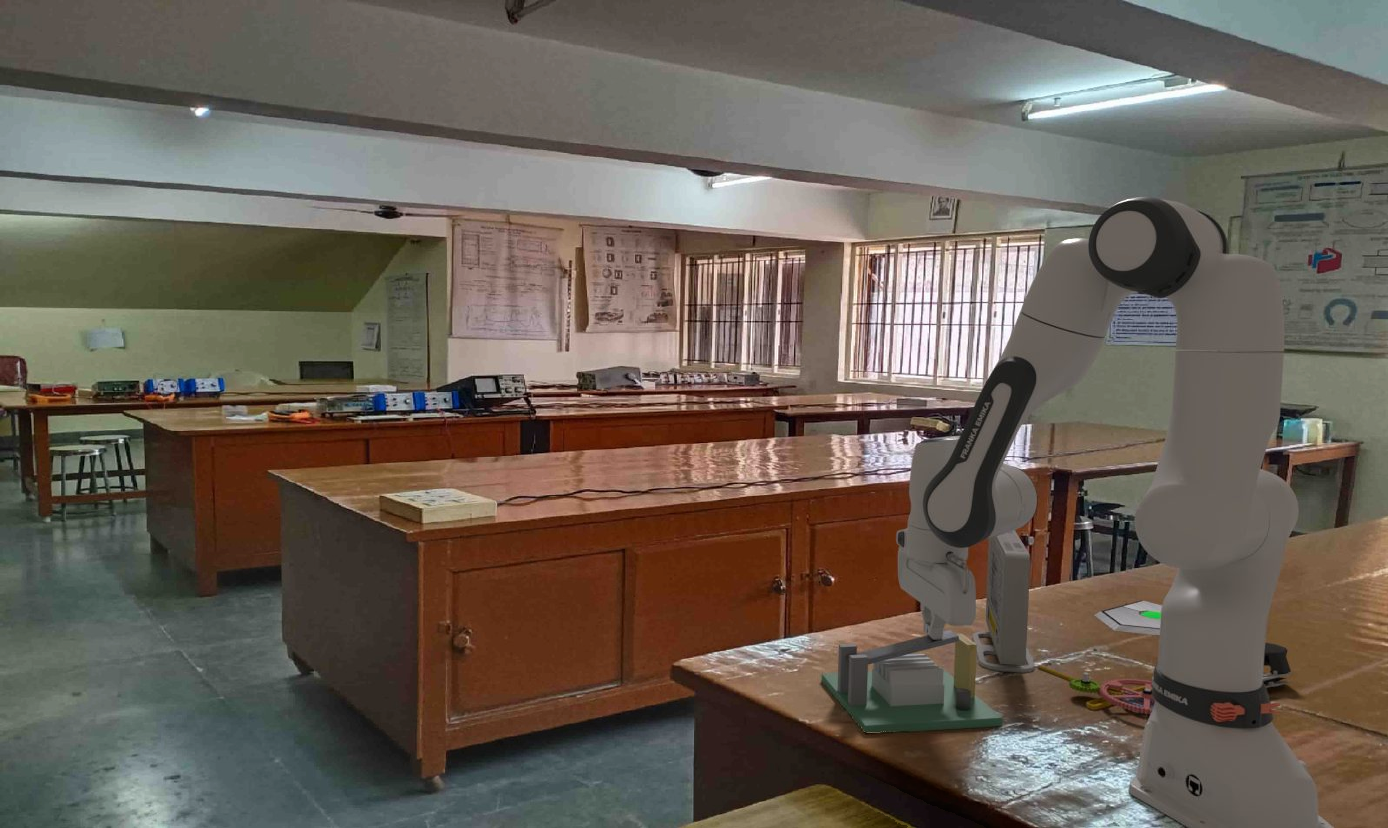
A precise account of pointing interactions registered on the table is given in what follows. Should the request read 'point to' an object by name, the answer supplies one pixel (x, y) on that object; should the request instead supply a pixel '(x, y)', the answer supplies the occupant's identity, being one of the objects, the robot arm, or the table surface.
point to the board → (916, 712)
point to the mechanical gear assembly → (1113, 692)
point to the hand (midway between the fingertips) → (932, 636)
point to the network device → (1007, 605)
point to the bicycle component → (1275, 664)
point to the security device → (1133, 617)
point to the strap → (907, 647)
